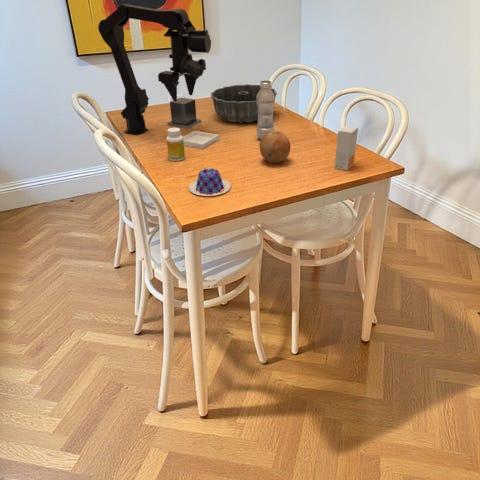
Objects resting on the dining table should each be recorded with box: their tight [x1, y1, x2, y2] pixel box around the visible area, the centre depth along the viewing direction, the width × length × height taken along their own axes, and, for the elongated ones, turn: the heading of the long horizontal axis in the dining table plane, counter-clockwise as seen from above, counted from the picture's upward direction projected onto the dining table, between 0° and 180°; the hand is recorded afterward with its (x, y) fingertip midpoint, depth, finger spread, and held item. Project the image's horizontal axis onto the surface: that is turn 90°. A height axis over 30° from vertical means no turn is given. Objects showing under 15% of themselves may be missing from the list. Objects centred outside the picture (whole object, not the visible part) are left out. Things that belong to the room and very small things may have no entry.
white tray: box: [182, 130, 220, 150], centre depth 162 cm, size 11×11×2 cm
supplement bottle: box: [166, 127, 186, 162], centre depth 148 cm, size 5×5×10 cm
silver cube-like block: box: [166, 97, 202, 129], centre depth 179 cm, size 10×9×9 cm
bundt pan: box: [210, 83, 278, 124], centre depth 184 cm, size 26×26×10 cm
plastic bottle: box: [255, 80, 276, 141], centre depth 158 cm, size 6×7×20 cm
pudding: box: [188, 168, 232, 197], centre depth 129 cm, size 12×12×5 cm
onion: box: [259, 130, 291, 164], centre depth 144 cm, size 10×10×10 cm
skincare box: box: [334, 125, 359, 171], centre depth 138 cm, size 6×4×12 cm
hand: (183, 98), depth 162 cm, fingers open, 9 cm apart
